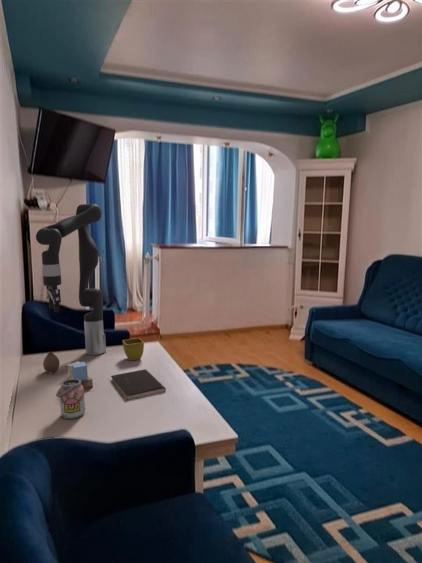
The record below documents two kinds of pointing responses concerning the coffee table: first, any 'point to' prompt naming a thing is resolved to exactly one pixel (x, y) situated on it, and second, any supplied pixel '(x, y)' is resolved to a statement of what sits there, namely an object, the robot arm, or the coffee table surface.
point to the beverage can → (71, 398)
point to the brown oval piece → (51, 363)
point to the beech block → (70, 370)
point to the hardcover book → (137, 384)
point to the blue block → (80, 371)
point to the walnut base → (87, 383)
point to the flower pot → (133, 348)
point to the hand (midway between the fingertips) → (54, 310)
